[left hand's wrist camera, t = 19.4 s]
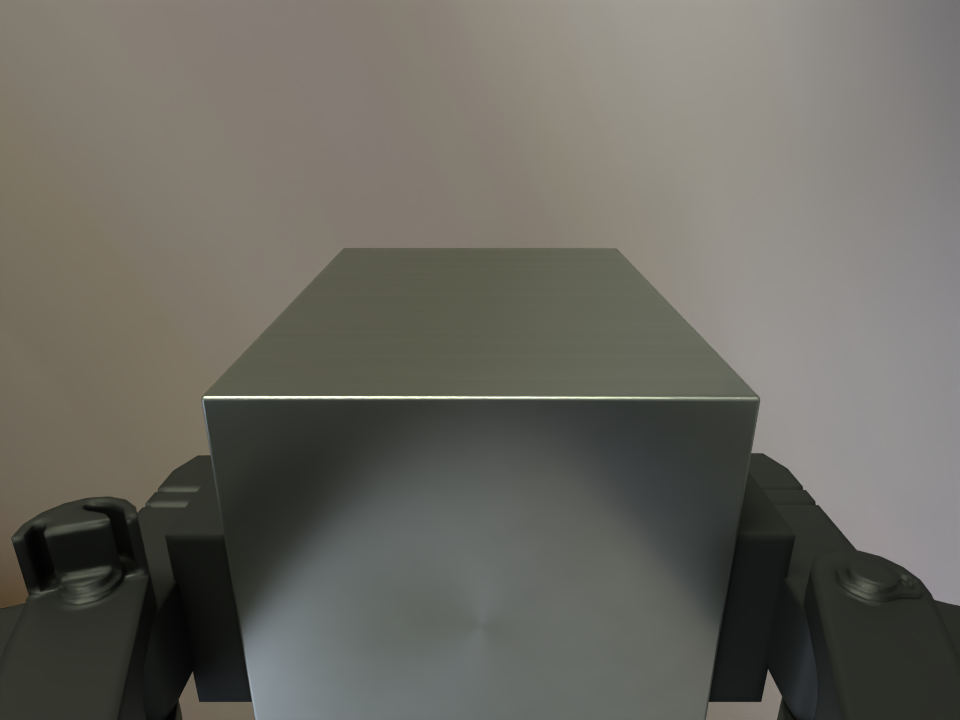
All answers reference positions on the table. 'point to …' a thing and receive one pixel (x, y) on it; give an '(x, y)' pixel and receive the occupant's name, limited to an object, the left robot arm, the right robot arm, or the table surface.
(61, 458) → the table surface
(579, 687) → the grey metal block
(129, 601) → the left robot arm
